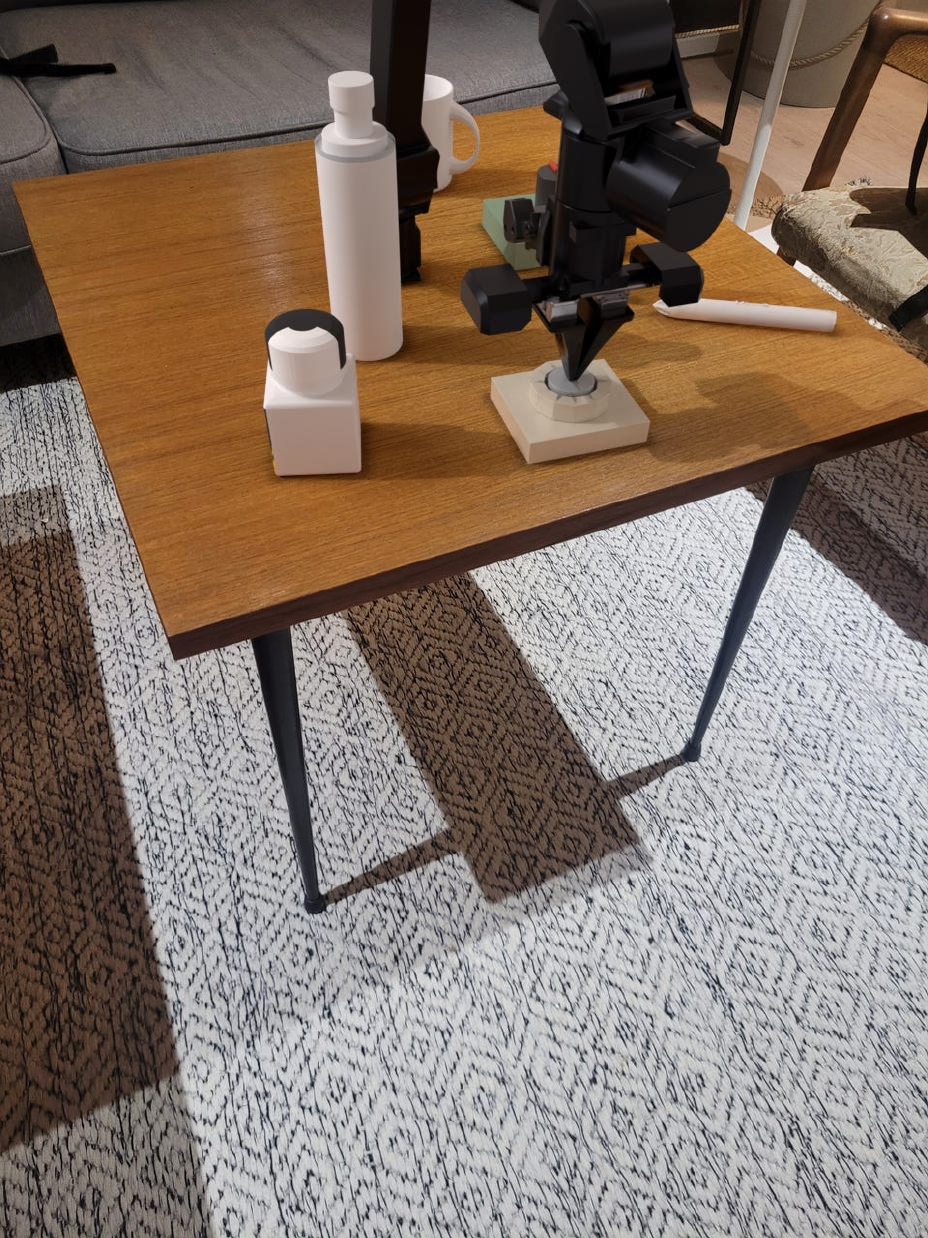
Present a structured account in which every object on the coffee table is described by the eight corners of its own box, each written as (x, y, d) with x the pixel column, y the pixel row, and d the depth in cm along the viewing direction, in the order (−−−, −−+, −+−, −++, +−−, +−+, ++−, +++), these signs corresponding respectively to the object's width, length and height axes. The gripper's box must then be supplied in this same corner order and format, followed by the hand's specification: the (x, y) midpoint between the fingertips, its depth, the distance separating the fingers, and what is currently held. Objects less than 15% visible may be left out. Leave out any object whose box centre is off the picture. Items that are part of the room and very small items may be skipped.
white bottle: (407, 358, 88) (398, 68, 69) (337, 364, 87) (308, 72, 68) (397, 321, 92) (386, 39, 73) (331, 327, 91) (302, 43, 73)
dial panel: (513, 270, 100) (515, 242, 97) (481, 225, 106) (482, 197, 104) (623, 255, 102) (627, 227, 100) (585, 211, 109) (588, 184, 107)
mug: (469, 203, 110) (472, 107, 102) (374, 191, 112) (369, 95, 104) (485, 174, 116) (489, 80, 108) (394, 162, 117) (391, 69, 109)
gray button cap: (556, 412, 78) (558, 395, 77) (539, 386, 81) (541, 369, 80) (599, 404, 79) (602, 387, 78) (581, 379, 82) (584, 362, 80)
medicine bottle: (279, 425, 81) (258, 299, 72) (360, 422, 81) (350, 296, 72) (275, 477, 76) (252, 349, 67) (361, 474, 76) (350, 346, 67)
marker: (650, 319, 93) (654, 298, 92) (651, 308, 95) (654, 287, 93) (831, 336, 92) (838, 315, 90) (828, 325, 93) (836, 304, 91)
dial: (579, 219, 101) (584, 175, 98) (542, 224, 100) (545, 179, 97) (564, 202, 104) (569, 158, 100) (528, 206, 103) (531, 162, 99)
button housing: (528, 464, 78) (531, 425, 75) (490, 397, 84) (492, 359, 81) (646, 441, 80) (654, 403, 77) (600, 378, 86) (606, 340, 83)
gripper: (661, 138, 74) (631, 314, 86) (440, 164, 70) (440, 344, 82) (727, 197, 67) (685, 380, 79) (486, 229, 63) (479, 417, 75)
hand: (571, 378), depth 79 cm, fingers closed, pressing on gray button cap
